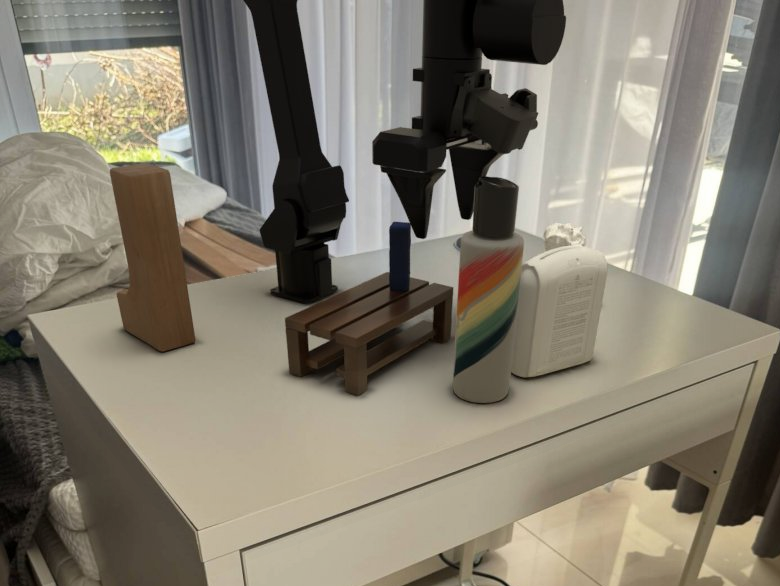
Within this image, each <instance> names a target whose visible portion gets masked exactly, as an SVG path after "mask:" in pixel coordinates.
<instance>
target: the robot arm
mask: <svg viewBox="0 0 780 586" xmlns="http://www.w3.org/2000/svg"><path fill="white" fill-rule="evenodd" d="M242 1H243V2H244V3H245V5H246V7H247V8H248V9H249V11H250V14H251V19H252V23H253V30H254V33H255V34H254V35H255V39H256V44H257V49H258V54H259V59H260V64H261V69H262V74H263V80H264V85H265V90H266V95H267V100H268V104H269V111H270V116H271V120H272V121H271V122H272V125H273V132H274V137H275V141H276V146H277V150H278V158H279V159H278V163H277V166H276V171H275V174H274V178H273V181H272V187H271V188H272V198H273V210H272V211H271V212H270V213H269V215H268V216H267V218H266V220H265V221H264V223H263V224H262V225H261V227H260V228H259V234H260V238H261V240H262V243H263V247H264V248H266V249H269V250H271V251H272V250H273V251H274V253H275V265H276V278H277V286H276V287H272V288H270V289H269V293H270V294H271V295H274V296H278V297H280V298H281V297H282V298H286V299H289V300H293V301H297V302H300V303H303V304H310V303H313V302H315V301H317V300H320V299H322V298H324V297H327V296H329V295H330V294H333V293H335V292H337V291H339V286H338V285H335V284H333V271H332V270H333V269H332V259H331V257H330V252H329V249H330V248H329V244H328V243H329V242H332V241H337V240H338V239H339V234H340V231H341V226H342V223H343V221H344V219H346V217H347V204H346V203H349V202H350V198H349V197H348V194H347V191H346V188H345V187H346V186H345V172H344V170H343V168H342V166H341V165H340V164H339V165H332V164H331V162H329V161H330V160H328V158H327V157H326V156H325V154H324V153H323V151H322V147H321V141H320V135H319V129H318V123H317V118H316V112H315V107H314V100H313V94H312V88H311V82H310V76H309V71H308V65H307V59H306V53H305V48H304V47H305V46H304V42H303V37H302V36H303V35H302V30H301V24H300V23H301V22H300V18H299V13H298V1H299V0H242ZM422 3H423V5H422V43H421V44H422V46H421V67H416V68H412V82H419V83H420V115H416V116H412V117H411V128H409V127H402V126H400V127H399V126H398V127H394V128H389V129H387V130H382V131H379V133H378V134H377V135H376V136H375V137H374V139H373V140H372V141H371V142H372V143H371V144H372V147H371V148H372V150H371V151H372V153H371V154H372V164H373V165H374V166H380V172H381V173H383V174H386V176H387V177H388V180H389V181H390V183H391V185H392V188H393V189H394V191H395V193H396V195H397V197H398V199H399V201H400V204H401V205H402V209H403V211H404V213H405V215H406V218H407V220H408V223H410V225H411V230H412V232H413V234H414V236H415V238H417V239H421V240H425V239H426V238H427V236H428V232H429V226H430V219H431V211H432V210H431V209H432V202H433V194H434V187H435V184H437V182H439V180H440V179H441V178H442V176H444V174H446V172H447V169H445V168H442V167H443V165H444V162H445V160H446V158H447V150H448V153H449V158H450V164H451V165H450V166H451V170H452V176H453V182H454V188H455V195H456V202H457V206H458V211H459V216H460V219H462V220H466V221H469V220H471V219H472V218H473V209H474V192H475V184H476V183H477V182H478V181H479V179H480V177H482V176H487V175H488V172H489V170H490V168H491V166H492V165H493V164H494V163H496V162H497V160H499V159H500V158H501V157H502V156H504V155H508V154H510V153H512V151H515V150H519V151H520V150H523V148H524V146H525V144H526V141H527V138H528V136H529V133H530V131H534V130H536V129H538V125H539V121H538V120H537V118H538V116H539V112H538V95H537V94H536V93H535V92H533V91H532V90H530V89H528V88H526V87H524V88H520V89H517V90H516V91H515V92H513V93H512V94H511V95H510V96H509V94H508V93H506V92H505V93H499V92H498V91H497V90H494V89H492V83H493V82H492V81H493V75H492V73H491V72H490V71H491V69H490V68H482V65H483V56H484V57H485V58H486V59H487V60H490V61H497V62H505V63H507V62H508V63H517V64H529V65H540V66H546V65H548V64H550V63H551V62H552V61H553V60H554V59H556V56H557V54H558V53H559V51H560V48H561V46H562V43H563V40H564V36H565V31H566V23H567V15H565V5H564V0H423V2H422Z"/></svg>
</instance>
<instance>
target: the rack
mask: <svg viewBox="0 0 780 586" xmlns="http://www.w3.org/2000/svg"><path fill="white" fill-rule="evenodd" d="M453 300H454V286H450V285H447V284H446V285H445V284H441V283H437V282H433V283H430V281H429V280H424V279H421V278H420V279H419V278H414V277H413V276H412V277H411V276H410V286H409V289H408V291H406V292H402V291H391V290H390V286H389V271H386V272H383V273H381V274H379V275H376V276H375V277H373V278H370V279H368V280H366V281H363V282H361V283H359V284H357V285H355V286H353V287H350V288H347V289H346V290H343V291H342V292H339V293H337V294H335V295H333V296H330V297H328V298H325V299H323V300H321V301H319V302H317V303H315V304H313V305H310V306H309V307H306V308H304V309H302V310H300V311H298V312H295V313H292V314H290V315H289V316H286V317H284V326H285V338H286V351H287V361H288V362H287V363H288V373H289V374H290V375H293V376H297V377H299V378H302V377H303V376H305V375H307V374H309V373H310V372H311V368H312V369H315V370H319V369H321V368H323V367H325V366H327V365H329V364H330V363H332V362H335V361H336V360H339V359H340V358H342V357H343V356H344V357H343V358H344V364H342V365H340V366H338V367H337V368H336V372H335V373H336V376H337V377H340V378H343V379H344V385H345V386H344V387H345V388H344V389H345V393H349V394H351V395H354V396H360V395H361V394H363V393H365V392H367V391H368V376H369V375H371V374H373V373H374V372H377V371H378V370H380V369H382V368H383V367H385V366H386V365H387V364H389V363H391V362H393V361H394V360H396V359H398V358H400V357H401V356H403V355H406V353H408V352H410V351H411V350H413V349H415V348H417V347H419V346H420V345H421V344H423V343H425V342H427V341H428V340H430V339H431V340H432V341H435V342H439V343H443V344H444V343H446V342H448V341H449V340H451V339H452V338H451V337H452V324H453V323H452V321H453V319H452V318H453V304H454V303H453V302H454V301H453ZM430 309H432V310H433V311H432V321H429V320H426V319H423V320H421V321H419V322H417V323H415V324H413V325H412V326H410V327H408V328H406V329H404V330H402V331H401V332H398V334H396V335H394V336H392V337H390V338H388V339H387V340H385V341H383V342H381V343H379V344H378V345H375V346H374V347H372V348H370V349H369V350H367V343H369V342H371V341H373V340H375V339H376V338H379V337H380V336H382V335H384V334H386V333H388V332H389V331H391V330H393V329H395V328H396V327H398V326H401V325H402V324H404V323H406V322H407V321H410V320H411V319H414V318H415V317H417V316H419V315H421V314H423V313H424V312H426V311H428V310H430ZM309 335H310V336H314V337H317V338H320V339H324V340H327V341H326V342H324V343H322V344H320V345H318V346H316V347H314V348H313V349H311V350H310V348H309Z"/></svg>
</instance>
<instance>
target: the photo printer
mask: <svg viewBox="0 0 780 586" xmlns="http://www.w3.org/2000/svg"><path fill="white" fill-rule="evenodd" d="M608 270H609V269H608V262H607V259H606V257H605V254H604V253H603V252H602V251H600V250H597V249H594V248H591V247H589V246H586V245H584V246H563V247H559V248H555V249H552V250H549V251H546V250H545V251H544V252H541V253H539V254H536V255H535V256H532V257H531V258H530V259H528V260H527V261H526V262H524V263H522V270H521V280H520V290H519V299H518V309H517V319H516V328H515V338H514V347H513V357H512V367H511V374H512V375H515V376H518V377H521V378H532V377H539V376H542V375H546V374H549V373H550V374H551V373H553V372H557V371H560V370H561V371H562V370H564V369H568V368H571V367H575V366H578V365H583V364H586V363H587V362H589V361H591V360H592V359H593V356H594V351H595V347H596V346H595V345H596V340H597V334H598V329H599V323H600V318H601V317H600V316H601V312H602V306H603V299H604V295H605V288H606V284H607V278H608Z"/></svg>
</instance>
